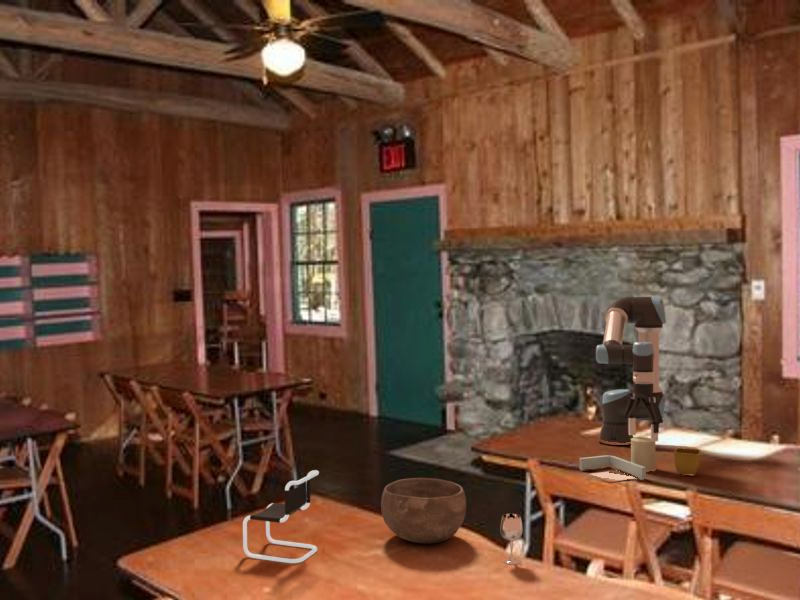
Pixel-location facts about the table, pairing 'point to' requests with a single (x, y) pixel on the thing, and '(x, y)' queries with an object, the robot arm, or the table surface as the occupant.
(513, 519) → the wineglass
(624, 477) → the tile
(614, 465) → the fence
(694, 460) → the flower pot
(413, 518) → the bowl
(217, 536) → the table surface
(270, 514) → the chair
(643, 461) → the can
